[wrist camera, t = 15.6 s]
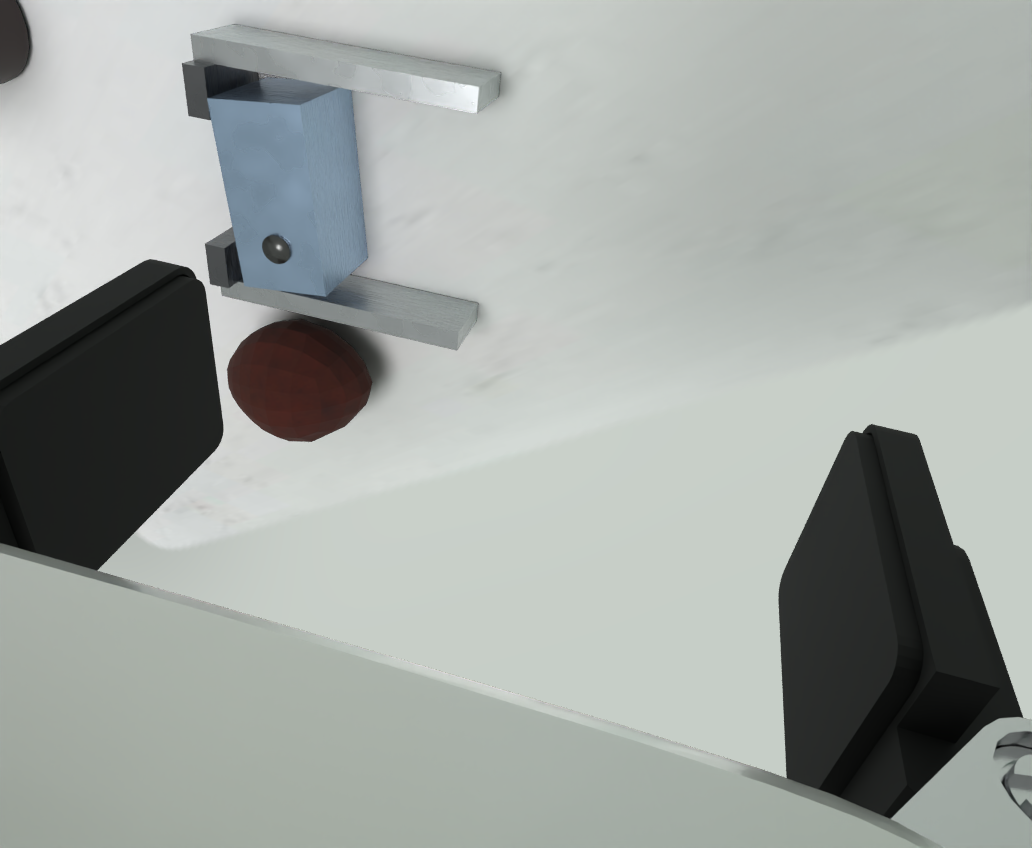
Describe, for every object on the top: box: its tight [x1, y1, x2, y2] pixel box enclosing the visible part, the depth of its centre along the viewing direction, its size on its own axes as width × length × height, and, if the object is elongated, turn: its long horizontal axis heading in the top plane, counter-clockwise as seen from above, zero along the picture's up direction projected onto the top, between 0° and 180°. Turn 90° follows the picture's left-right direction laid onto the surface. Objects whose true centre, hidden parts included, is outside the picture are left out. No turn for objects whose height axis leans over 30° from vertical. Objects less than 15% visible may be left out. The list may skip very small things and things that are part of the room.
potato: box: [227, 319, 372, 442], centre depth 49 cm, size 8×9×8 cm
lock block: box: [207, 77, 368, 297], centre depth 42 cm, size 5×10×6 cm, turn 179°
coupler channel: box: [182, 24, 501, 350], centre depth 42 cm, size 15×14×5 cm
